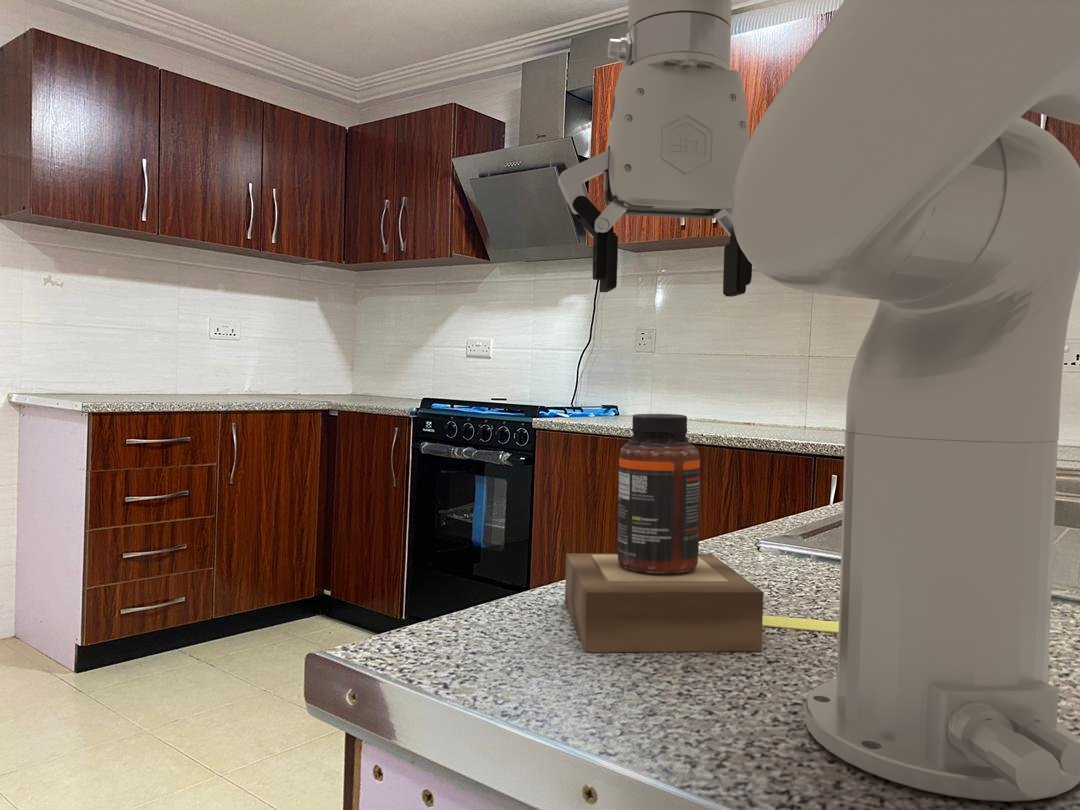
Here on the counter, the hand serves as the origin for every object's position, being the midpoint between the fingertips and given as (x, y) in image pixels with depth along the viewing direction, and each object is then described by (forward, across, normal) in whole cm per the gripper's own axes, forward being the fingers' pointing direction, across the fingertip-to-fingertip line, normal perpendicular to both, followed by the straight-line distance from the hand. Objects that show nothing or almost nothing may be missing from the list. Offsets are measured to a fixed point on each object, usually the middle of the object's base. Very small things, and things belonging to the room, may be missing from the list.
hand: (671, 292), depth 61 cm
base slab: (+25, -1, -1) cm, 25 cm away
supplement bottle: (+20, -1, -1) cm, 21 cm away
